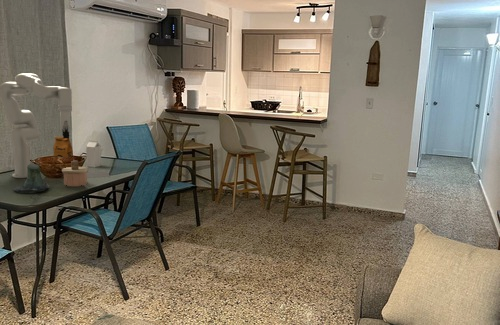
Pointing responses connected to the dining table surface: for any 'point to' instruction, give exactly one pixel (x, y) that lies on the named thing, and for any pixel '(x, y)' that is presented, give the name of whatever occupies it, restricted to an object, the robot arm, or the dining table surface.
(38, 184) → the tree stump
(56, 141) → the coffee package
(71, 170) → the lid
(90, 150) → the milk carton
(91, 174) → the mat
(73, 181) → the bowl
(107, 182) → the dining table surface
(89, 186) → the dining table surface
